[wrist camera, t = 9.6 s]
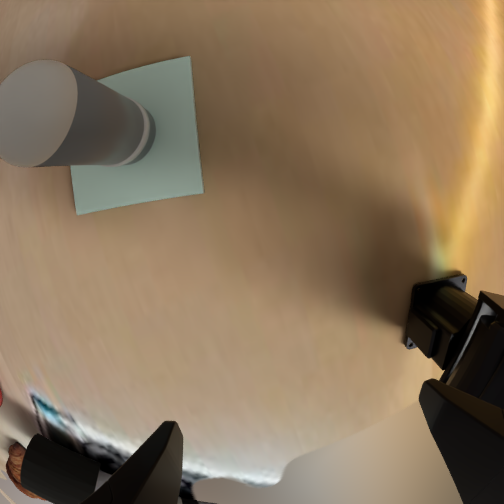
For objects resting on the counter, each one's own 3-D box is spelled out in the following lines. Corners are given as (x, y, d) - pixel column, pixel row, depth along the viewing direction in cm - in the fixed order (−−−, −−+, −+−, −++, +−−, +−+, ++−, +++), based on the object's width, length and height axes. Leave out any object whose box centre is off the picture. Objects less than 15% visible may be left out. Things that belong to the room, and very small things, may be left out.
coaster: (191, 58, 17) (189, 55, 16) (204, 192, 19) (203, 193, 19) (71, 93, 17) (67, 91, 16) (80, 214, 19) (76, 215, 19)
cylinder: (154, 96, 17) (51, 22, 5) (160, 159, 18) (45, 149, 6) (96, 113, 17) (-29, 79, 5) (101, 172, 18) (-32, 188, 6)
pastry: (85, 493, 32) (75, 521, 24) (55, 491, 34) (45, 514, 26) (18, 439, 28) (1, 467, 21) (-1, 445, 30) (-15, 467, 22)
